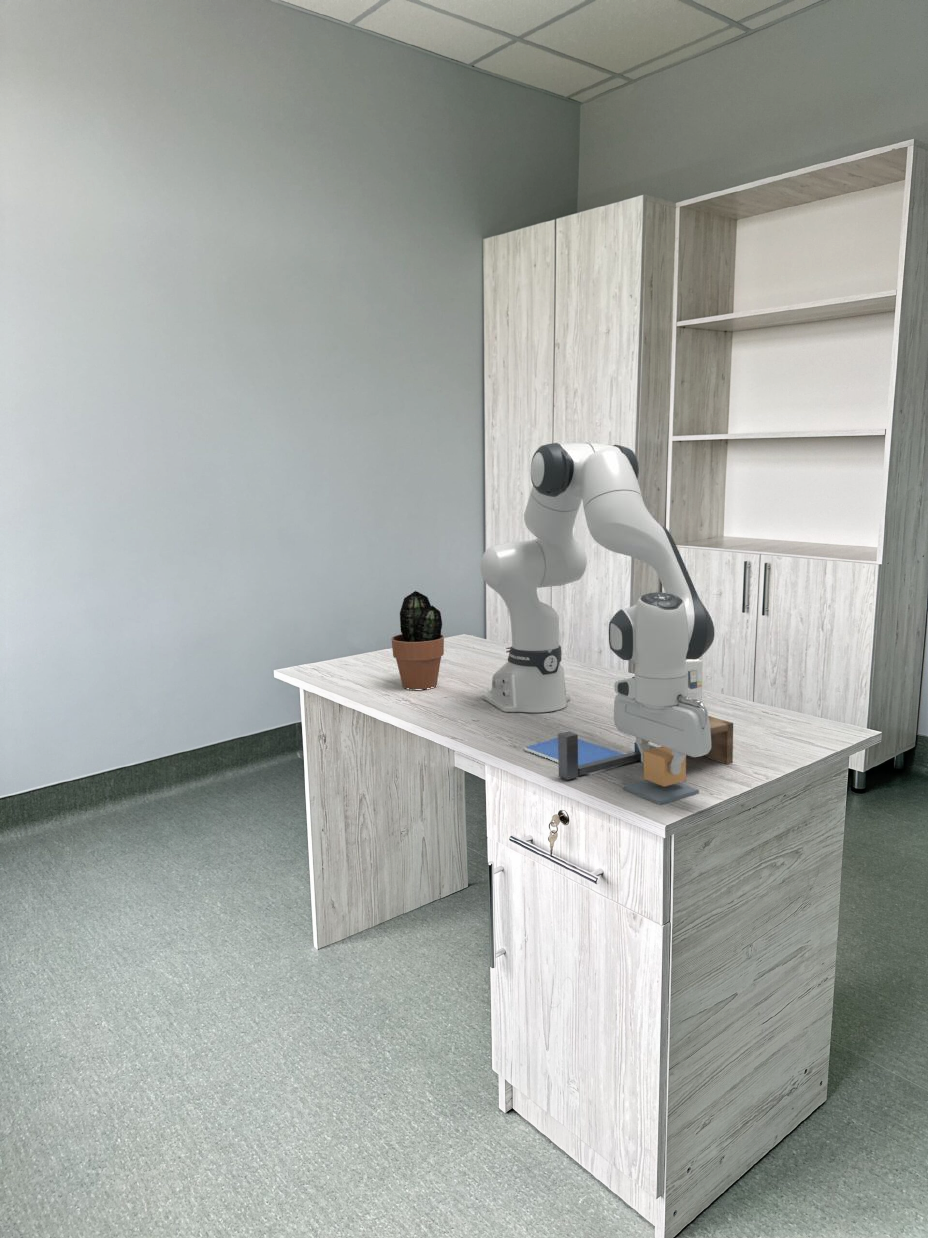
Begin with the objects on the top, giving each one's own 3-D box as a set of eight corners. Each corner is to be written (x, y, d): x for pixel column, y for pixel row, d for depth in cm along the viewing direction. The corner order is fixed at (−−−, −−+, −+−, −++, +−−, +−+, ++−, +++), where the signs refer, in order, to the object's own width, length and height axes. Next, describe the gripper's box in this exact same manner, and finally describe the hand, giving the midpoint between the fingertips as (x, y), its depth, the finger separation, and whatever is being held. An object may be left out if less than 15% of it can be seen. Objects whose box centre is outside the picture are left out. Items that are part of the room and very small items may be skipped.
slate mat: (623, 789, 157) (623, 785, 157) (661, 778, 161) (661, 775, 161) (659, 804, 149) (659, 801, 149) (698, 793, 154) (698, 789, 154)
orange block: (643, 778, 156) (643, 750, 156) (665, 772, 159) (665, 745, 158) (664, 786, 152) (664, 758, 151) (685, 780, 155) (685, 752, 154)
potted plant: (388, 693, 229) (384, 595, 225) (399, 680, 243) (394, 588, 238) (441, 693, 227) (438, 595, 223) (449, 680, 241) (445, 587, 237)
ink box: (673, 701, 212) (673, 640, 210) (694, 701, 212) (695, 639, 210) (680, 711, 204) (681, 647, 201) (702, 711, 204) (703, 647, 201)
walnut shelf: (642, 755, 174) (642, 717, 173) (682, 745, 180) (682, 708, 178) (692, 774, 163) (692, 733, 162) (732, 762, 169) (733, 723, 167)
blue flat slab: (637, 763, 172) (637, 756, 172) (589, 778, 165) (589, 771, 164) (568, 740, 187) (568, 734, 187) (521, 753, 180) (521, 747, 180)
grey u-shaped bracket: (558, 776, 163) (558, 733, 162) (638, 755, 173) (638, 715, 172) (600, 795, 154) (600, 750, 152) (682, 772, 163) (683, 729, 162)
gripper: (721, 699, 145) (719, 781, 148) (634, 676, 162) (634, 749, 165) (692, 705, 142) (691, 789, 144) (607, 681, 159) (608, 756, 162)
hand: (660, 768), depth 155 cm, fingers open, 5 cm apart
